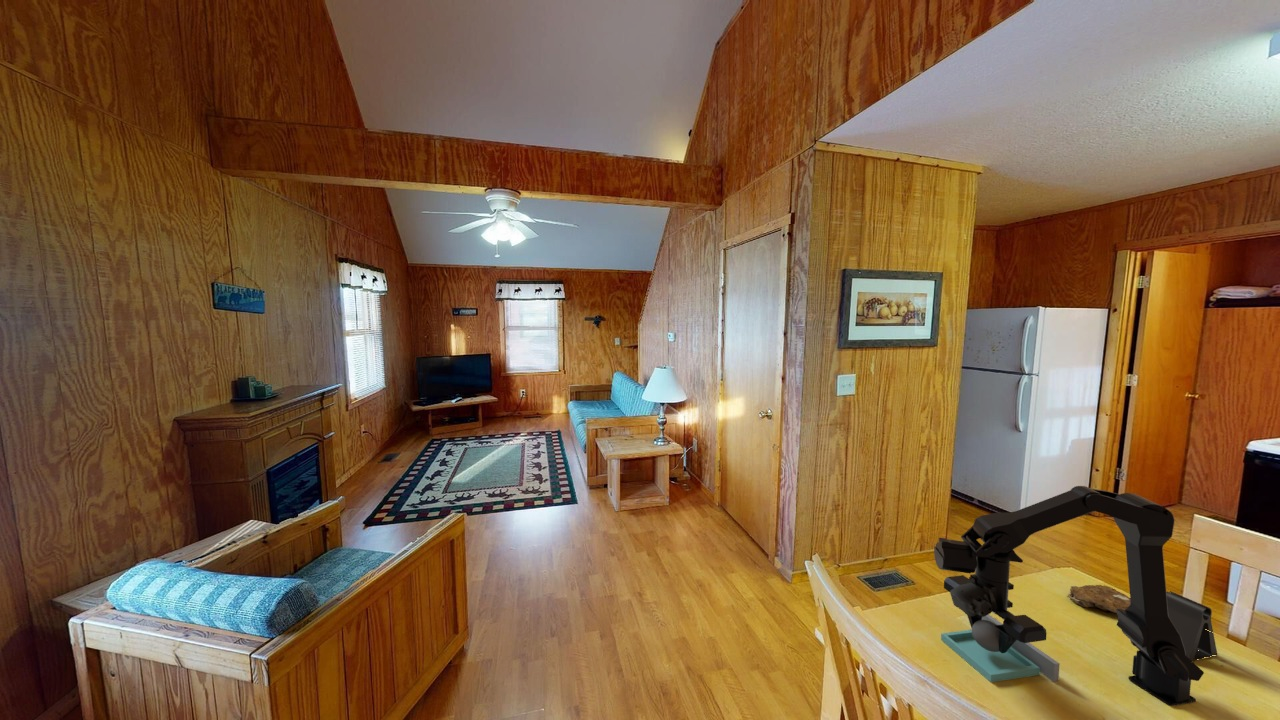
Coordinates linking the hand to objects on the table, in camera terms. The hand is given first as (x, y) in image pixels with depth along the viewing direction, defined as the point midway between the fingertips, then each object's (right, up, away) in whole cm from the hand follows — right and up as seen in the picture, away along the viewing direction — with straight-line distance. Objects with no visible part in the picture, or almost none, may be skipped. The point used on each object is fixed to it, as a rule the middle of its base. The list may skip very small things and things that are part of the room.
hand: (988, 641), depth 93 cm
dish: (0, -4, 0) cm, 4 cm away
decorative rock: (+45, -2, +17) cm, 48 cm away
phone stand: (+46, -3, +2) cm, 46 cm away
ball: (0, +1, 0) cm, 2 cm away
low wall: (+7, -3, +2) cm, 8 cm away
